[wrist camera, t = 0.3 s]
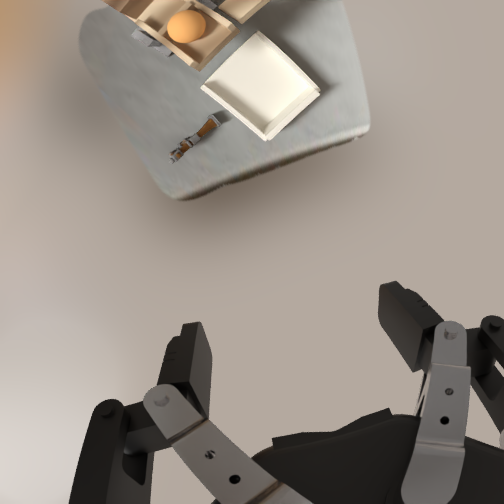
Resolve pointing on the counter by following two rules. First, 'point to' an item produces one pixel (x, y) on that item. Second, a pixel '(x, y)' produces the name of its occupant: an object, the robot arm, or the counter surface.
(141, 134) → the counter surface
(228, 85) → the tray
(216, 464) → the robot arm
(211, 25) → the lever
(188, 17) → the ball
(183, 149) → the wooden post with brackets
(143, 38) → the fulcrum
